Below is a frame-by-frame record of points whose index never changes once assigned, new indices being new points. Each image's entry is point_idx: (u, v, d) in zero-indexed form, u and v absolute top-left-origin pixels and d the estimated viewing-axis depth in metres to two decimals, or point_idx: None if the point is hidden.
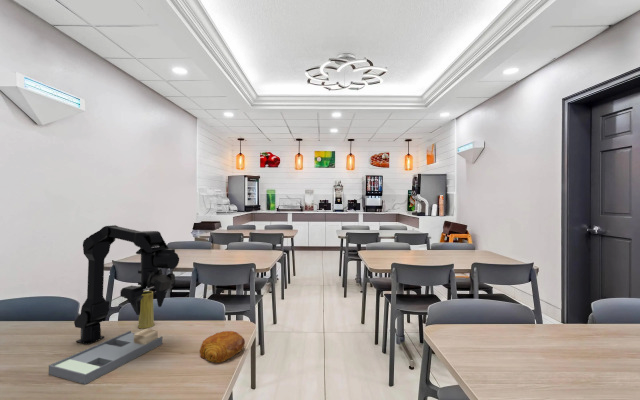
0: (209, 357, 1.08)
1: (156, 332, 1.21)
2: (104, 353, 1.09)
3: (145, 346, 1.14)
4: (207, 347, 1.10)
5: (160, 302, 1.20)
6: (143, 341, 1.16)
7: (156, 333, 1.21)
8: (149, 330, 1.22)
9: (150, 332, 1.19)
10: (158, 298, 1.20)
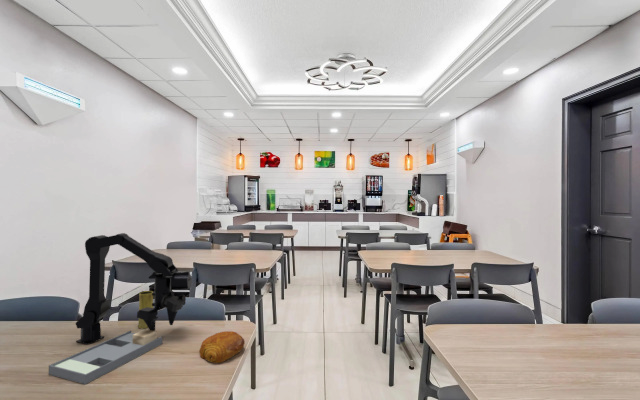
0: (209, 357, 1.07)
1: (155, 333, 1.20)
2: (104, 353, 1.09)
3: (145, 346, 1.14)
4: (207, 348, 1.09)
5: (171, 321, 1.31)
6: (142, 341, 1.16)
7: (155, 334, 1.20)
8: (148, 330, 1.21)
9: (149, 333, 1.19)
10: (169, 317, 1.31)
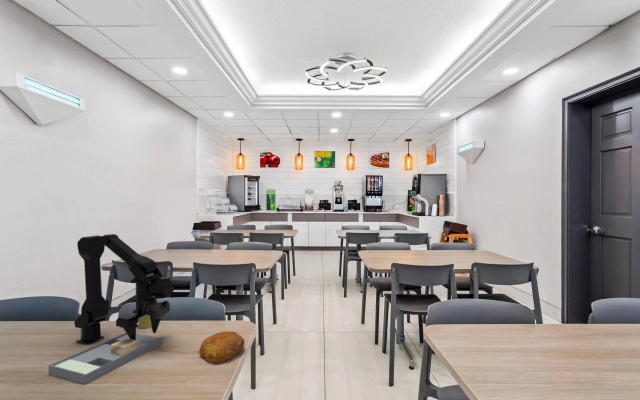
0: (208, 357, 1.07)
1: (135, 342, 1.12)
2: (104, 353, 1.09)
3: (145, 346, 1.14)
4: (207, 348, 1.09)
5: (155, 328, 1.23)
6: (121, 352, 1.08)
7: (135, 343, 1.12)
8: (128, 339, 1.13)
9: (129, 343, 1.11)
10: (153, 324, 1.23)
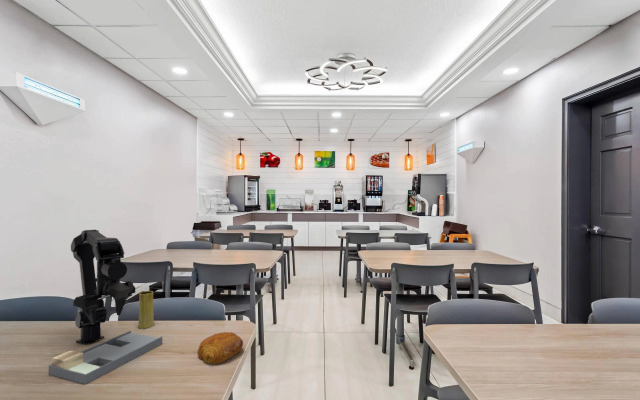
0: (206, 358, 1.07)
1: (81, 355, 1.03)
2: (104, 353, 1.09)
3: (145, 346, 1.14)
4: (205, 349, 1.09)
5: (119, 310, 1.17)
6: (62, 366, 0.98)
7: (81, 356, 1.03)
8: (73, 352, 1.04)
9: (73, 356, 1.01)
10: (117, 306, 1.18)
